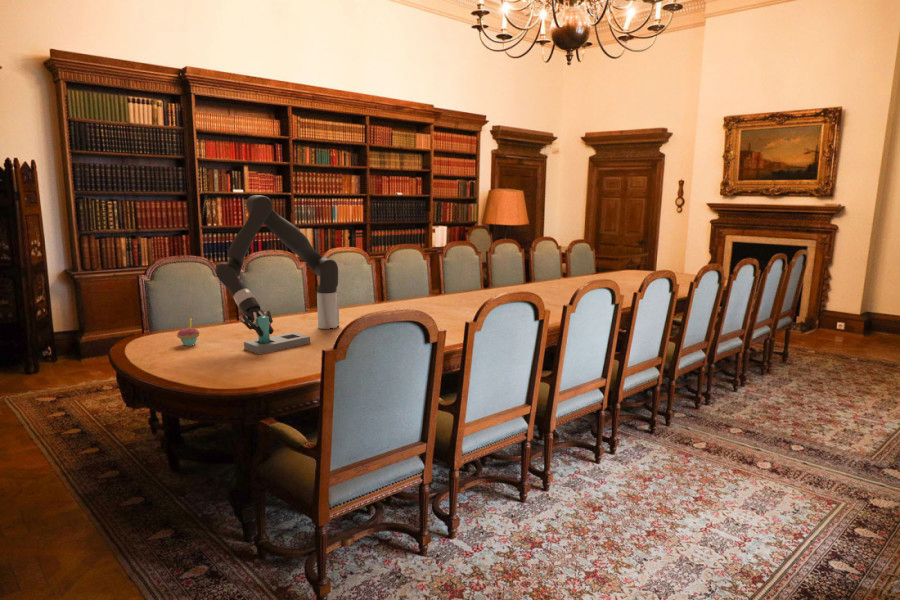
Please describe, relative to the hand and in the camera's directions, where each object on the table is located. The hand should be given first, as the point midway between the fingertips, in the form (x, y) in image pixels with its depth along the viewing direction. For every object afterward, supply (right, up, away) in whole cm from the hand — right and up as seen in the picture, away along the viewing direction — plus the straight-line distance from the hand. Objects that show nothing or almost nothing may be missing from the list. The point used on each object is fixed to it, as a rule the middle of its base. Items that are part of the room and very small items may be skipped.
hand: (267, 334), depth 236 cm
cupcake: (-36, -5, +8) cm, 37 cm away
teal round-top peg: (-2, -5, +2) cm, 5 cm away
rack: (+3, -5, +7) cm, 9 cm away
